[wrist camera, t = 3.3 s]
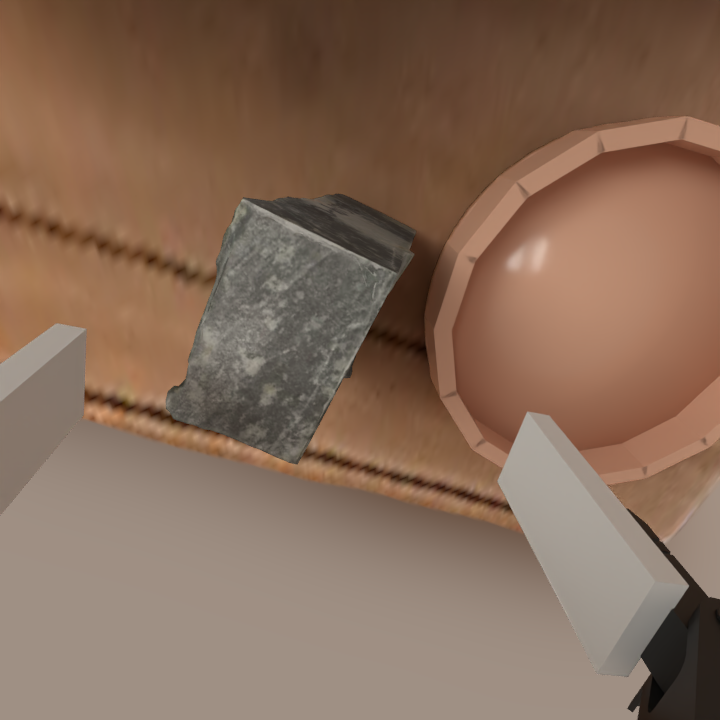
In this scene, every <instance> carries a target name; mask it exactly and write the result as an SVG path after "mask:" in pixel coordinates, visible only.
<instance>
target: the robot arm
mask: <svg viewBox="0 0 720 720" xmlns="http://www.w3.org/2000/svg"><path fill="white" fill-rule="evenodd" d="M86 330H87V329H84V328H79V327H74V326H68V325H63V324H58V323H56V324H55V325H53V326H52V327H51V328H49V329H48V330H47V331H45V332H44V333H42V334H41V335H40V336H38V337H37V338H36V339H34V340H33V341H31V342H30V343H29V344H27V345H26V346H25V347H23V348H22V349H20V350H19V351H18V352H16V353H15V354H14V355H12V356H11V357H9V358H8V359H7V360H5V361H4V362H3V363H1V364H0V515H1V514H2V513H3V512H4V510H5V509H6V508H7V507H8V506H9V504H10V503H11V502H12V501H13V500H14V498H15V497H16V496H17V495H18V494H19V492H20V491H21V490H22V489H23V488H24V486H25V485H26V484H27V483H28V482H29V480H30V479H31V478H32V477H33V476H34V474H35V473H36V472H37V471H38V469H39V468H40V467H41V466H42V465H43V463H44V462H45V461H46V460H47V459H48V457H49V456H50V455H51V454H52V453H53V451H54V450H55V449H56V448H57V447H58V445H59V444H60V443H61V442H62V441H63V439H64V438H65V437H66V436H67V435H68V433H69V432H70V431H71V430H72V429H73V427H74V426H75V425H76V423H78V421H79V420H80V419H81V418H82V416H83V415H84V388H85V359H86ZM497 482H498V484H499V486H500V488H501V489H502V491H503V493H504V495H505V497H506V499H507V501H508V503H509V505H510V507H511V509H512V511H513V513H514V515H515V517H516V519H517V520H518V522H519V524H520V526H521V528H522V530H523V532H524V534H525V536H526V538H527V540H528V542H529V544H530V546H531V548H532V549H533V551H534V553H535V555H536V557H537V559H538V561H539V563H540V565H541V567H542V569H543V571H544V572H545V575H546V576H547V579H548V580H549V582H550V584H551V586H552V588H553V590H554V592H555V594H556V596H557V598H558V600H559V601H560V603H561V605H562V608H563V609H564V611H565V613H566V615H567V617H568V619H569V621H570V623H571V625H572V627H573V629H574V631H575V633H576V634H577V637H578V638H579V640H580V642H581V644H582V646H583V648H584V650H585V652H586V654H587V656H588V658H589V660H590V662H591V664H592V666H593V668H594V669H595V671H596V673H597V674H602V675H613V676H624V677H628V676H629V674H630V673H631V672H632V670H633V669H634V667H635V666H636V664H637V663H638V661H639V660H640V658H642V659H643V661H644V663H645V664H646V666H647V667H648V669H649V671H650V672H651V674H650V676H649V677H648V679H647V680H646V682H645V683H644V684H643V686H642V687H641V689H640V690H639V692H638V693H637V694H636V696H635V697H634V699H633V700H632V702H631V703H630V705H629V707H628V709H629V710H630V711H631V712H633V711H634V710H635V708H636V707H637V706H640V708H639V714H638V720H720V599H716V598H711V597H710V598H709V597H708V596H707V595H706V594H705V592H704V591H703V590H702V589H701V588H700V587H699V585H698V584H697V583H696V582H695V581H694V579H693V578H692V577H691V576H690V575H689V574H688V572H687V571H686V570H685V569H684V568H683V566H682V565H681V564H680V563H679V562H678V561H677V560H676V558H675V557H674V556H673V555H670V551H669V550H668V549H667V547H666V546H665V545H664V544H663V543H662V542H659V538H658V537H657V536H656V534H655V533H654V532H653V531H652V530H651V528H650V527H649V526H648V525H647V524H646V523H645V522H644V521H643V520H641V519H640V518H639V517H638V516H636V515H635V514H634V513H633V512H631V511H630V510H629V509H626V508H625V507H624V506H623V504H622V503H621V502H620V501H619V500H618V498H617V497H616V496H615V495H614V494H613V492H612V491H611V490H610V489H609V487H608V486H607V485H606V484H605V483H604V481H603V480H602V479H601V478H600V477H599V475H598V474H597V473H596V472H595V470H594V469H593V468H592V467H591V466H590V464H589V463H588V462H587V461H586V459H585V458H584V457H583V456H582V455H581V453H580V452H579V451H578V450H577V449H576V447H575V446H574V445H573V444H572V442H571V441H570V440H569V439H568V438H567V436H566V435H565V434H564V433H563V431H562V430H561V429H560V428H559V427H558V425H557V424H556V423H555V422H554V421H553V419H552V418H551V417H550V416H549V415H544V414H539V413H534V412H528V411H527V413H526V416H525V418H524V420H523V423H522V425H521V427H520V430H519V432H518V434H517V437H516V439H515V441H514V444H513V446H512V448H511V451H510V453H509V455H508V458H507V460H506V462H505V465H504V467H503V469H502V472H501V474H500V476H499V479H498V481H497Z"/></svg>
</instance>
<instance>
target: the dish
mask: <svg viewBox="0 0 720 720" xmlns="http://www.w3.org/2000/svg"><path fill="white" fill-rule="evenodd" d="M424 317H425V319H424V326H425V344H426V350H427V356H428V361H429V366H430V376H431V380H432V382H433V384H434V386H435V388H436V391H437V393H438V395H439V397H440V399H441V400H442V402H443V404H444V405H445V407H446V409H447V410H448V412H449V413H450V415H451V417H452V418H453V420H454V421H455V423H456V425H457V426H458V428H459V429H460V431H461V433H462V434H463V436H464V438H465V439H466V441H467V442H468V444H469V446H470V447H471V449H472V450H473V451H475V452H477V453H478V454H480V455H481V456H483V457H485V458H486V459H488V460H489V461H491V462H493V463H494V464H496V465H498V466H499V467H501V468H502V469H503V467H504V465H505V462H506V460H507V458H508V455H509V453H510V451H511V448H512V446H513V444H514V441H515V439H516V437H517V434H518V432H519V430H520V427H521V425H522V423H523V420H524V418H525V416H526V413H527V411H528V412H534V413H539V414H544V415H549V416H550V417H551V418H552V419H553V421H554V422H555V423H556V424H557V425H558V427H559V428H560V429H561V430H562V431H563V433H564V434H565V435H566V436H567V438H568V439H569V440H570V441H571V442H572V444H573V445H574V446H575V447H576V449H577V450H578V451H579V452H580V453H581V455H582V456H583V457H584V458H585V459H586V461H587V462H588V463H589V464H590V466H591V467H592V468H593V469H594V470H595V472H596V473H597V474H598V475H599V477H600V478H601V479H602V480H603V481H604V483H605V484H606V485H611V484H617V483H623V482H629V481H635V480H640V479H646V478H648V477H650V476H652V475H654V474H656V473H658V472H660V471H662V470H664V469H666V468H668V467H670V466H672V465H674V464H676V463H678V462H680V461H683V460H685V459H687V458H689V457H691V456H693V455H695V454H697V453H699V452H701V451H703V450H705V449H707V448H709V447H710V446H711V445H713V444H714V443H715V442H716V441H717V440H718V439H719V438H720V126H718V125H715V124H712V123H708V122H705V121H702V120H699V119H696V118H692V117H689V116H669V117H651V118H645V119H639V120H633V121H627V122H619V123H609V124H603V125H599V126H594V127H590V128H585V129H579V130H573V131H571V132H570V133H568V134H567V135H565V136H563V137H560V138H558V139H555V140H553V141H551V142H549V143H547V144H545V145H543V146H542V147H540V148H538V149H536V150H534V151H532V152H530V153H529V154H527V155H526V156H525V157H523V158H522V159H520V160H519V161H517V162H516V163H515V164H513V165H512V166H510V167H509V168H508V169H506V170H505V171H504V172H503V173H502V174H501V175H500V176H498V177H497V178H496V179H495V180H494V181H493V182H492V183H491V184H490V185H488V186H487V187H486V188H485V189H484V190H483V192H482V193H481V194H480V195H479V196H478V197H477V198H476V200H475V201H474V202H473V203H472V204H471V205H470V206H469V208H468V209H467V210H466V212H465V213H464V215H463V216H462V217H461V219H460V220H459V222H458V223H457V225H456V226H455V228H454V229H453V231H452V233H451V234H450V236H449V238H448V240H447V242H446V244H445V246H444V248H443V250H442V252H441V254H440V256H439V259H438V262H437V264H436V267H435V269H434V272H433V275H432V278H431V283H430V287H429V291H428V295H427V300H426V310H425V313H424Z"/></svg>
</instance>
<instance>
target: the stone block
mask: <svg viewBox="0 0 720 720" xmlns="http://www.w3.org/2000/svg"><path fill="white" fill-rule="evenodd" d="M415 234H416V231H415V230H414V229H412V228H410V227H408V226H406V225H404V224H402V223H400V222H398V221H397V220H395V219H393V218H391V217H389V216H387V215H385V214H383V213H380V212H378V211H376V210H374V209H372V208H370V207H368V206H366V205H364V204H362V203H360V202H358V201H356V200H354V199H352V198H349V197H347V196H345V195H343V194H335V195H325V196H323V197H320V198H316V199H306V198H300V199H299V198H292V197H286V198H278V199H276V200H274V201H266V200H258V199H251V198H244V197H243V199H242V201H241V202H240V204H239V206H238V207H237V208H236V210H235V212H234V216H233V219H232V223H231V225H230V226H229V227H228V228H227V230H226V232H225V234H224V237H223V242H222V247H221V251H220V253H219V255H218V258H217V260H216V265H217V276H216V281H215V284H214V287H213V289H212V292H211V295H210V297H209V300H208V303H207V305H206V308H205V311H204V313H203V316H202V318H201V321H200V324H199V326H198V329H197V332H196V335H195V340H194V344H193V347H192V350H191V353H190V355H189V359H188V363H189V365H188V370H187V376H186V379H185V380H184V381H183V382H182V383H181V384H180V385H179V386H174V387H172V388H171V389H170V390H169V391H168V393H167V398H166V409H167V410H168V411H169V412H170V414H171V415H172V417H173V419H176V420H178V421H181V422H184V423H187V424H193V425H195V426H198V427H200V428H202V429H208V430H212V431H215V432H218V433H221V434H223V435H226V436H228V437H231V438H233V439H236V440H238V441H240V442H242V443H245V444H247V445H249V446H251V447H254V448H257V449H260V450H262V451H264V452H266V453H268V454H271V455H273V456H275V457H277V458H280V459H282V460H284V461H287V462H289V463H293V464H298V462H299V461H300V459H301V457H302V455H303V453H304V451H305V450H306V448H307V446H308V444H309V442H310V441H311V439H312V437H313V435H314V433H315V431H316V429H317V428H318V426H319V424H320V422H321V420H322V418H323V416H324V414H325V413H326V411H327V409H328V407H329V405H330V403H331V401H332V399H333V397H334V395H335V394H336V392H337V390H338V388H339V386H340V384H341V382H342V380H343V378H350V376H351V374H352V365H353V362H354V359H355V357H356V353H357V352H358V350H359V348H360V346H361V344H362V343H363V341H364V339H365V337H366V335H367V333H368V331H369V329H370V327H371V325H372V323H373V322H374V320H375V318H376V316H377V314H378V312H379V310H380V308H381V306H382V304H383V303H384V301H385V299H386V297H387V295H388V294H389V293H390V291H391V290H392V289H393V287H394V285H395V283H396V282H397V280H398V279H399V277H400V276H401V275H402V273H403V272H404V270H405V269H406V267H407V266H408V264H409V263H410V261H411V260H412V258H413V256H414V255H415V254H414V253H412V252H411V251H410V247H411V245H412V241H413V239H414V236H415Z"/></svg>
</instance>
